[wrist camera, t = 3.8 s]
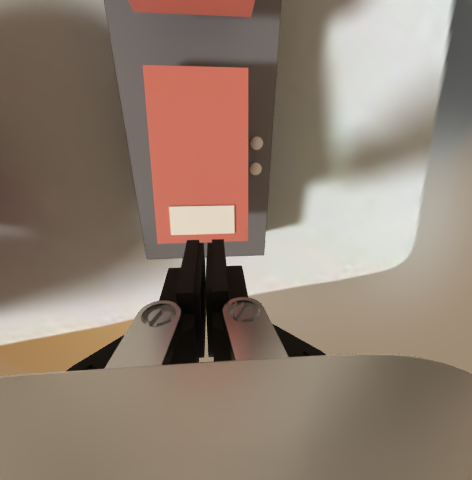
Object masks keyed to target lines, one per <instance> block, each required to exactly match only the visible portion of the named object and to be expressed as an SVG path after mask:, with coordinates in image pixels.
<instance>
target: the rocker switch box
mask: <svg viewBox="0 0 472 480" xmlns="http://www.w3.org/2000/svg"><path fill="white" fill-rule="evenodd" d="M104 4H105V10H106V16H107V22H108V28H109V34H110V40H111V46H112V52H113V58H114V64H115V70H116V76H117V82H118V88H119V94H120V100H121V107H122V113H123V119H124V125H125V131H126V137H127V143H128V149H129V155H130V161H131V167H132V173H133V179H134V185H135V191H136V197H137V203H138V209H139V215H140V221H141V227H142V233H143V239H144V245H145V251H146V257H147V259H171V258H183V256H184V252H185V247H186V243H170V244H157V232H156V220H155V208H154V196H153V184H152V172H151V160H150V148H149V136H148V124H147V112H146V100H145V88H144V76H143V65H165V66H202V67H238V68H248V241H234V242H224V247H225V257H227V256H254V255H264V248H265V233H266V219H267V204H268V189H269V174H270V160H271V145H272V130H273V116H274V101H275V86H276V71H277V57H278V42H279V27H280V12H281V0H255V3H254V7H253V11H252V15H251V17H234V16H211V15H189V14H167V13H144V12H133V9H132V7H131V5H130V3H129V1H128V0H104ZM202 243H204V254H205V257H207V243H212V242H202Z"/></svg>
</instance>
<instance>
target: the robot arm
mask: <svg viewBox="0 0 472 480" xmlns="http://www.w3.org/2000/svg"><path fill="white" fill-rule="evenodd" d="M206 315H207V333H208V334H207V335H208V355H209V357H214V362H202V363H201V362H200V363H199V358H201V357H204V350H205V321H206ZM0 480H472V374H470V373H468V372H466V371H464V370H461V369H459V368H456V367H454V366H451V365H448V364H445V363H442V362H438V361H433V360H430V359H425V358H422V357H416V356H409V355H401V354H385V353H371V354H337V355H326V354H324V353H323V352H322V351H320V350H318V349H316V348H315V347H312V346H311V345H309V344H308V343H305V342H304V341H302V340H300V339H298V338H297V337H295V336H293V335H291V334H290V333H288V332H286V331H284V330H282V329H280V328H279V327H277V326H275V325H274V324H272V323H271V321H270V319H269V317H268V315H267V313H266V311H265V309H264V307H263V306H262V304H261V303H259V302H258V301H257V300H255V299H252V298H248V294H247V289H246V284H245V279H244V274H243V269H242V266H226V258H225V247H224V239H212V243H207V266H206V275H205V254H204V243H199V240H187V242H186V247H185V252H184V256H183V261H182V266H181V268H169V270H168V273H167V276H166V279H165V283H164V286H163V290H162V293H161V296H160V300H159V301H157V302H153V303H150V304H148V305H146V306H145V307H143V308H142V309H141V310H140V311H139V312H138V314H137V315H136V317H135V319H134V320H133V322H132V324H131V325H130V327H129V329H128V330H127V332H126V334H125V335H123V336H122V337H120V338H118V339H117V340H115V341H113V342H112V343H110V344H108V345H107V346H105V347H103V348H102V349H100V350H99V351H97V352H95V353H94V354H92V355H90V356H89V357H87V358H85V359H84V360H82V361H81V362H79V363H77V364H75V365H74V366H72V367H71V368H69V369H68V370H67V371H65V372H52V373H37V374H22V375H13V376H3V377H0Z"/></svg>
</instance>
